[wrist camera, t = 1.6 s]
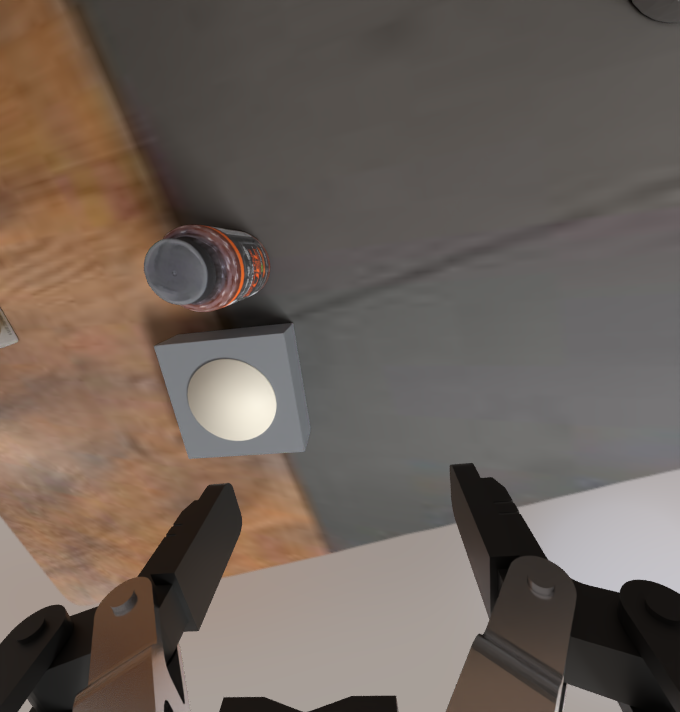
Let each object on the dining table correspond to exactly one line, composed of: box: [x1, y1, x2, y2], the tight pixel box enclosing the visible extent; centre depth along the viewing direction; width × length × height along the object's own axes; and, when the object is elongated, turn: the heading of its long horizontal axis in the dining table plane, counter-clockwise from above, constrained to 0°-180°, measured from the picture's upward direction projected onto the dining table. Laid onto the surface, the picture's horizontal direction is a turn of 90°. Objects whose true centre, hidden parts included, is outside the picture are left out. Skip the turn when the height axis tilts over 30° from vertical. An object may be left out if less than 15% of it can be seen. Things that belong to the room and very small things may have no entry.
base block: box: [154, 323, 311, 459], centre depth 32 cm, size 12×12×4 cm
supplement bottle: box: [144, 225, 270, 312], centre depth 25 cm, size 6×6×11 cm
